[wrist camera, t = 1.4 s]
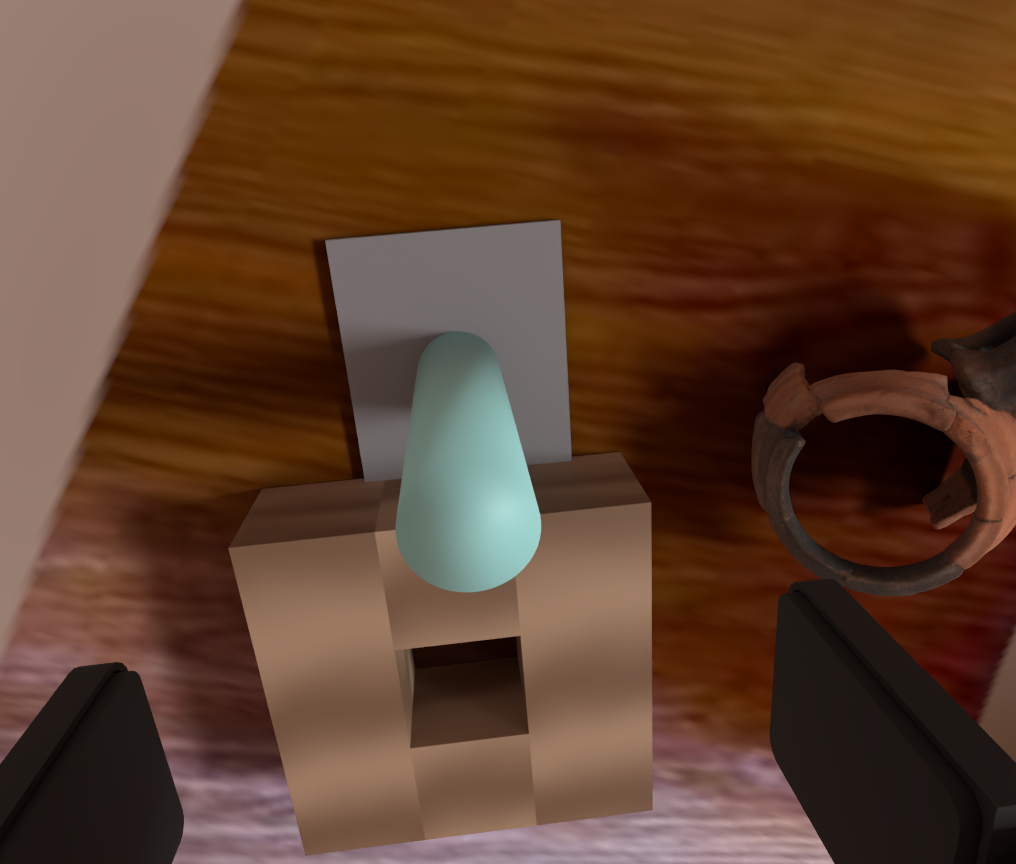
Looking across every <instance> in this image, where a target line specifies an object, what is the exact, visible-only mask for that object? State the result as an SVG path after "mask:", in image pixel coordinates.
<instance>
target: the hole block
mask: <svg viewBox="0 0 1016 864" xmlns="http://www.w3.org/2000/svg"><path fill="white" fill-rule="evenodd" d="M527 468H528V472H529V476H530V479H531V483H532V487H533V490H534V494H535V498H536V501H537V505H538V509H539V512H540V518H541V535H540V540H539V543H538V547H537V549H536V551H535V553H534V555H533V557H532V558H531V560H530V562H529V563H528V564H527V565H526V566H525V568H524V569H523V570H522V571H521V572H520V573H518V574H517V575H516V576H515V577H513V578H512V579H511V580H509V581H507V582H505V583H504V584H502V585H499V586H497V587H494V588H491V589H488V590H484V591H478V592H455V591H449V590H445V589H442V588H439V587H436V586H434V585H432V584H430V583H428V582H426V581H425V580H423V579H422V578H420V577H419V576H418V575H417V574H416V573H415V572H414V571H413V570H411V569H410V567H409V566H408V565H407V563H406V562H405V560H404V559H403V557H402V555H401V553H400V550H399V548H398V545H397V540H396V531H395V528H396V517H397V510H398V503H399V496H400V489H401V481H402V479H393V480H383V481H373V482H365V479H364V478H362V479H352V480H343V481H333V482H324V483H314V484H304V485H295V486H285V487H276V488H266V489H262V490H261V491H260V493H259V495H258V497H257V498H256V500H255V502H254V504H253V506H252V507H251V509H250V511H249V513H248V514H247V516H246V518H245V520H244V521H243V523H242V525H241V527H240V528H239V530H238V532H237V534H236V535H235V537H234V539H233V541H232V542H231V544H230V546H229V548H228V549H229V553H230V557H231V561H232V565H233V569H234V573H235V577H236V581H237V585H238V589H239V593H240V597H241V601H242V605H243V608H244V612H245V616H246V620H247V624H248V628H249V632H250V636H251V640H252V644H253V648H254V652H255V656H256V660H257V664H258V668H259V672H260V676H261V680H262V684H263V688H264V692H265V696H266V700H267V704H268V708H269V712H270V716H271V720H272V724H273V728H274V732H275V736H276V740H277V744H278V748H279V752H280V756H281V760H282V764H283V768H284V772H285V776H286V779H287V783H288V787H289V791H290V795H291V799H292V803H293V807H294V811H295V815H296V819H297V823H298V827H299V831H300V835H301V839H302V843H303V847H304V851H305V855H313V854H321V853H328V852H336V851H343V850H351V849H359V848H366V847H374V846H382V845H389V844H397V843H405V842H412V841H420V840H428V839H435V838H443V837H451V836H458V835H466V834H474V833H481V832H489V831H497V830H504V829H512V828H520V827H527V826H535V825H543V824H550V823H558V822H566V821H573V820H581V819H589V818H596V817H604V816H612V815H619V814H627V813H635V812H642V811H650V810H652V570H651V501H650V499H649V498H648V496H647V495H646V493H645V491H644V490H643V488H642V486H641V485H640V483H639V482H638V480H637V478H636V477H635V475H634V473H633V472H632V470H631V469H630V467H629V465H628V464H627V462H626V460H625V459H624V457H623V456H622V454H621V452H612V453H602V454H593V455H583V456H573V457H572V461H565V462H555V463H546V464H536V465H527ZM514 636H516V644H517V656H518V657H511V658H502V659H494V660H485V661H477V662H468V663H460V664H452V665H443V666H435V667H426V668H418V669H415V665H414V659H413V652H412V648H420V647H428V646H437V645H445V644H454V643H463V642H471V641H480V640H488V639H497V638H505V637H514Z"/></svg>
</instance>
